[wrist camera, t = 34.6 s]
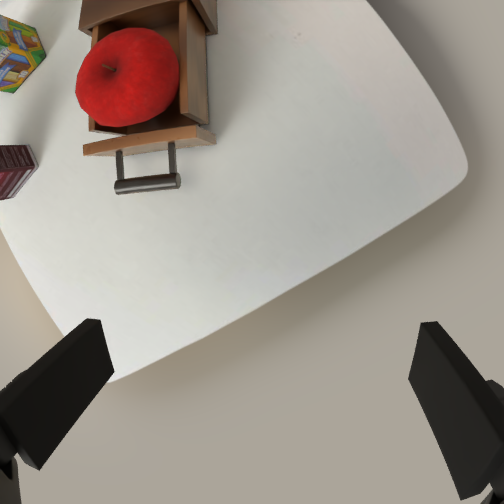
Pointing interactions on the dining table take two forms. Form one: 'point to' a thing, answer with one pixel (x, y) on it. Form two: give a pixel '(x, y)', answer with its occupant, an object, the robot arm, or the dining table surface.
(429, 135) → the dining table surface
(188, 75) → the drawer
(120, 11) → the cabinet
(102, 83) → the apple
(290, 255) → the dining table surface
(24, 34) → the chalk box
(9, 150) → the supplement box
